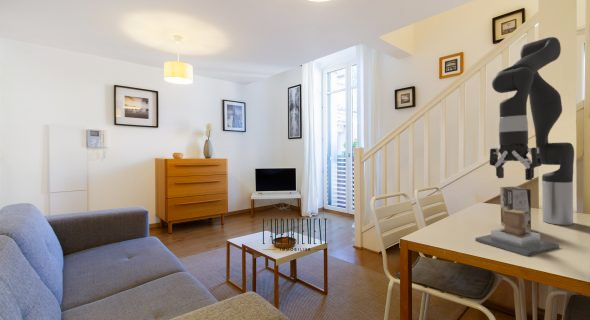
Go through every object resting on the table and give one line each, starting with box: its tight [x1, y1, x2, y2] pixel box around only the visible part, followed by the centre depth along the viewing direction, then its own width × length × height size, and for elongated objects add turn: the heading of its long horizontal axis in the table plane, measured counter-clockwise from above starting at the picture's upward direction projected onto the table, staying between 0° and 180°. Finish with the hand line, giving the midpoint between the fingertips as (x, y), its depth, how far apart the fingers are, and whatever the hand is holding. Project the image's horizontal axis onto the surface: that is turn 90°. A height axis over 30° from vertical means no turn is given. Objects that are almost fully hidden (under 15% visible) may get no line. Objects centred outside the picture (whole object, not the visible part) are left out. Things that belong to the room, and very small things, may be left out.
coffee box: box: [499, 186, 532, 232], centre depth 109 cm, size 9×6×16 cm
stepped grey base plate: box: [474, 227, 560, 257], centre depth 92 cm, size 16×16×4 cm
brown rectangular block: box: [504, 210, 526, 236], centre depth 92 cm, size 4×4×10 cm
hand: (514, 179), depth 92 cm, fingers open, 8 cm apart
